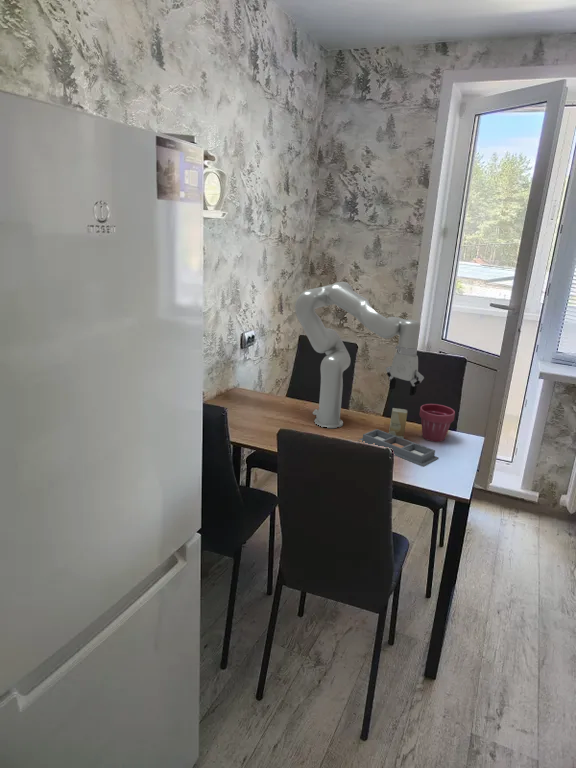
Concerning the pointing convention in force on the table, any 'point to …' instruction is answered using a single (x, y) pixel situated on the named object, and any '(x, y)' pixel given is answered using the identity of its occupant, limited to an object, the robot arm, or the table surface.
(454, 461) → the table surface
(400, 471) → the table surface
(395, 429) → the skincare box
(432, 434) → the plant pot
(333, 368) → the robot arm
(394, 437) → the three-slot frame tray
